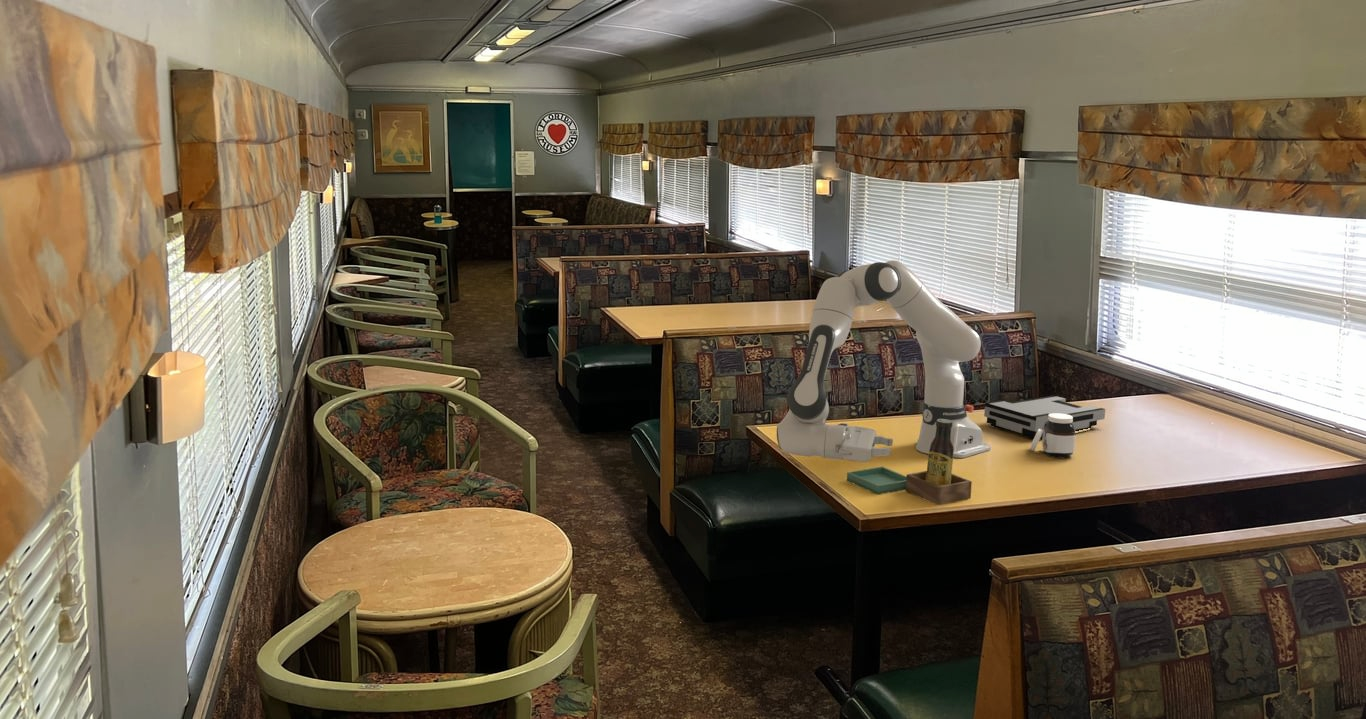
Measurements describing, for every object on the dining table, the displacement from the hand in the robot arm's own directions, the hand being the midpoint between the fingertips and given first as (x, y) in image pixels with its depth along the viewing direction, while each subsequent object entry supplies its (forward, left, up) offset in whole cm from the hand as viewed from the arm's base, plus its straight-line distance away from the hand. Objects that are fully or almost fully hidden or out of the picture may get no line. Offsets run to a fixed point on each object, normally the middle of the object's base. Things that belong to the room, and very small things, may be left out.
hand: (891, 447), depth 278 cm
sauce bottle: (-9, +8, -12) cm, 17 cm away
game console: (-86, -27, -12) cm, 91 cm away
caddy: (-9, +8, -12) cm, 17 cm away
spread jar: (-65, -6, -12) cm, 66 cm away
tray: (-1, -5, -12) cm, 13 cm away
